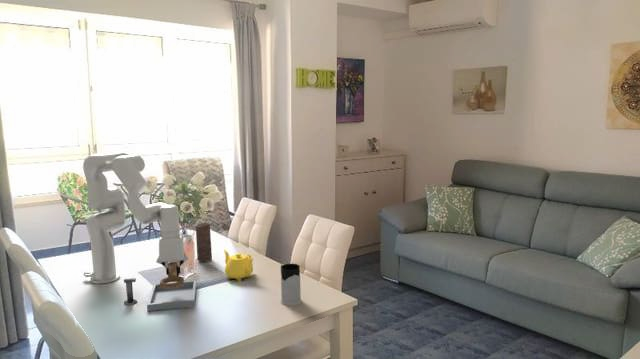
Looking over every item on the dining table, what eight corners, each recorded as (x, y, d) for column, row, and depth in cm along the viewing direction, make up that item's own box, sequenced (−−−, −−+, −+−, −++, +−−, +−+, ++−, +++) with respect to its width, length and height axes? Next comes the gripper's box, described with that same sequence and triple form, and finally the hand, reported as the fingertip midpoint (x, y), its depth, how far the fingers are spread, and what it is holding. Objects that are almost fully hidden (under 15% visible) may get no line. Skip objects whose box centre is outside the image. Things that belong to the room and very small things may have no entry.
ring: (159, 290, 191) (158, 273, 190) (163, 277, 206) (162, 261, 205) (182, 287, 193) (181, 271, 192) (185, 275, 208) (184, 259, 207)
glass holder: (285, 307, 191) (284, 271, 189) (272, 295, 203) (271, 261, 201) (305, 303, 195) (304, 268, 192) (291, 291, 207) (290, 258, 205)
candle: (208, 263, 243) (206, 225, 240) (194, 263, 245) (192, 225, 241) (214, 258, 251) (212, 221, 247) (201, 258, 252) (199, 221, 249)
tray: (147, 312, 188) (146, 304, 188) (154, 290, 210) (153, 284, 209) (194, 307, 192) (194, 300, 192) (196, 286, 213) (196, 280, 213)
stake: (123, 305, 194) (121, 281, 193) (125, 300, 199) (123, 277, 198) (136, 304, 195) (134, 280, 194) (138, 299, 200) (136, 276, 199)
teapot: (267, 276, 225) (266, 253, 223) (244, 286, 213) (243, 261, 212) (237, 267, 237) (236, 245, 235) (214, 276, 225) (213, 253, 224)
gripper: (149, 238, 196) (152, 280, 199) (190, 234, 199) (193, 276, 202) (151, 233, 203) (154, 274, 206) (191, 230, 207) (193, 271, 210)
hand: (173, 275), depth 204 cm, fingers closed on ring, 2 cm apart
